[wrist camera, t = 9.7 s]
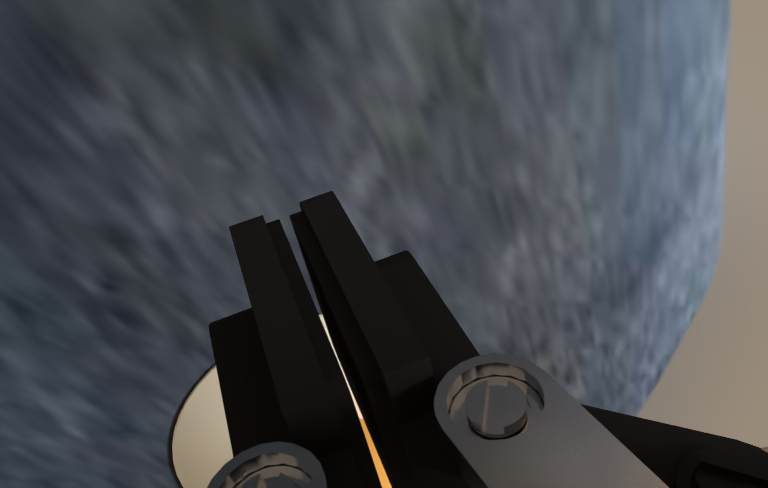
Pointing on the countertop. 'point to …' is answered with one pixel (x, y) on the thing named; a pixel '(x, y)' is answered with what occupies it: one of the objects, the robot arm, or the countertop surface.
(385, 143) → the countertop surface
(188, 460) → the disc
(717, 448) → the robot arm
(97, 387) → the countertop surface
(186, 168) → the countertop surface
